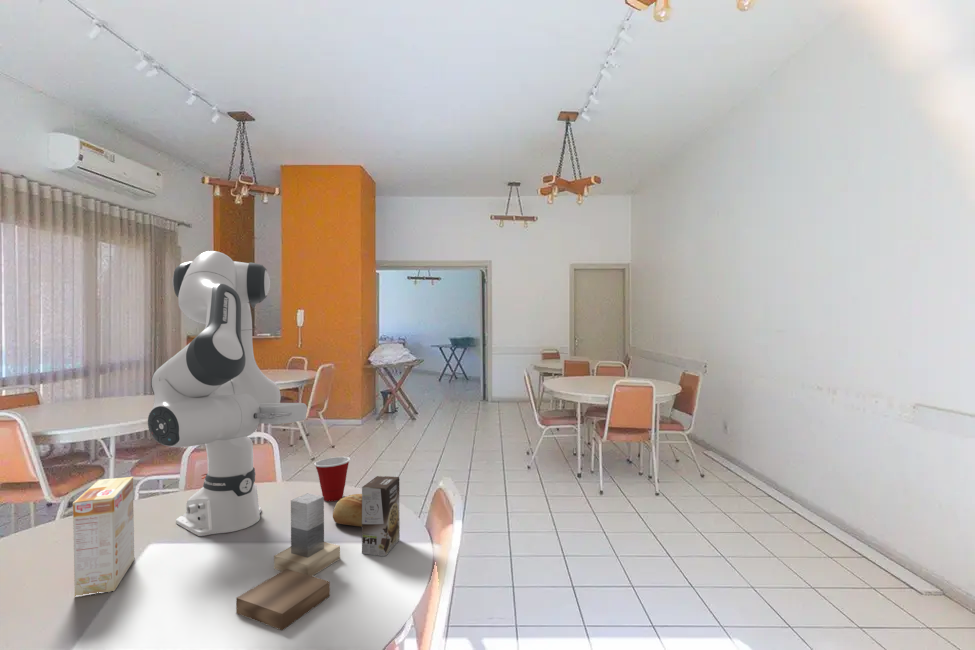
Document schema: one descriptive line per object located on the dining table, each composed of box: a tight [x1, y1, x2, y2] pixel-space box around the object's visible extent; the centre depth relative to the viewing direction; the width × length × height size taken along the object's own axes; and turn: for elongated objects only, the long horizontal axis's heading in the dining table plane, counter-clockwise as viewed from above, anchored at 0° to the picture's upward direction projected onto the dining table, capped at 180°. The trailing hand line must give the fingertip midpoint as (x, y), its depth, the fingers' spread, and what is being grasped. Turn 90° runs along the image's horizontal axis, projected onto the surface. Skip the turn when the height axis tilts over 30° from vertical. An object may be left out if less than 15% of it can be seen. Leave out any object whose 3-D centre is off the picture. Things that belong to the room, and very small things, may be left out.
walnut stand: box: [235, 569, 331, 631], centre depth 97 cm, size 12×12×3 cm
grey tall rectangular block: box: [290, 493, 325, 558], centre depth 113 cm, size 5×5×12 cm
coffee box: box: [361, 475, 401, 557], centre depth 121 cm, size 9×6×16 cm
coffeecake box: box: [71, 476, 135, 597], centre depth 107 cm, size 15×7×20 cm, turn 22°
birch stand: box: [273, 541, 341, 577], centre depth 113 cm, size 10×10×3 cm
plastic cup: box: [313, 456, 351, 503], centre depth 154 cm, size 11×11×12 cm
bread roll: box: [332, 493, 362, 528], centre depth 135 cm, size 10×15×8 cm, turn 73°
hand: (288, 408), depth 113 cm, fingers open, 8 cm apart
